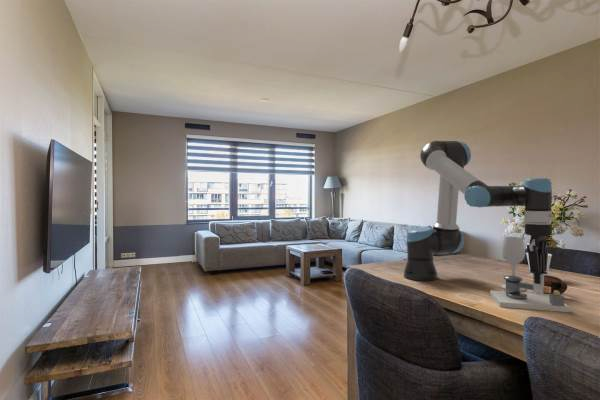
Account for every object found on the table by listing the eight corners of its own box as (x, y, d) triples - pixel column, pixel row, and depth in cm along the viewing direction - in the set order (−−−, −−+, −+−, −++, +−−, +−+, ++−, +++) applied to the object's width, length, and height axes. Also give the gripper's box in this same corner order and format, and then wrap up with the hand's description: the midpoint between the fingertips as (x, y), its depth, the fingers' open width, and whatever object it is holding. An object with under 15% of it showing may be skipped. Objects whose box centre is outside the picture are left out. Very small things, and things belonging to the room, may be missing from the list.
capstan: (500, 295, 120) (500, 277, 120) (508, 292, 123) (507, 274, 123) (546, 305, 108) (546, 284, 108) (553, 301, 112) (552, 281, 112)
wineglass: (522, 286, 138) (521, 236, 138) (529, 291, 130) (528, 238, 130) (499, 284, 141) (498, 236, 141) (504, 290, 133) (503, 238, 133)
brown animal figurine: (527, 293, 129) (530, 274, 132) (546, 303, 130) (549, 283, 133) (556, 294, 118) (559, 272, 121) (578, 304, 119) (580, 282, 122)
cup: (543, 275, 157) (543, 252, 157) (557, 280, 147) (557, 255, 147) (521, 275, 158) (521, 252, 157) (534, 280, 148) (533, 255, 148)
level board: (500, 306, 113) (499, 288, 113) (490, 294, 127) (490, 278, 127) (570, 312, 107) (570, 292, 107) (551, 298, 121) (551, 281, 121)
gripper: (543, 224, 105) (544, 298, 105) (558, 223, 112) (558, 292, 112) (517, 223, 111) (518, 293, 111) (532, 222, 119) (533, 287, 118)
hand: (538, 292), depth 112 cm, fingers closed
